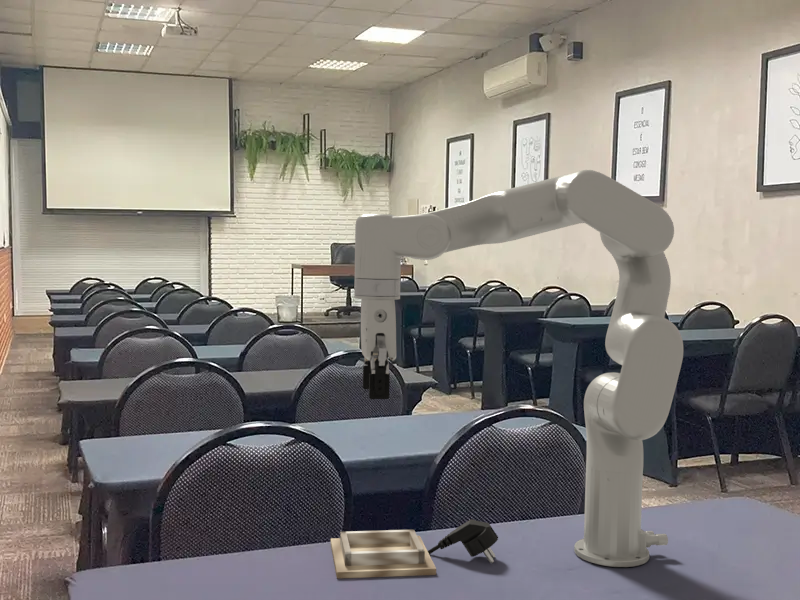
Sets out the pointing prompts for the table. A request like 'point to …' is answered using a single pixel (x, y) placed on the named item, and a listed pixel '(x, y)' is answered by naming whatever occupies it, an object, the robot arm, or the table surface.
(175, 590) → the table surface
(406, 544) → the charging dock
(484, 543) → the power plug
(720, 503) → the table surface
